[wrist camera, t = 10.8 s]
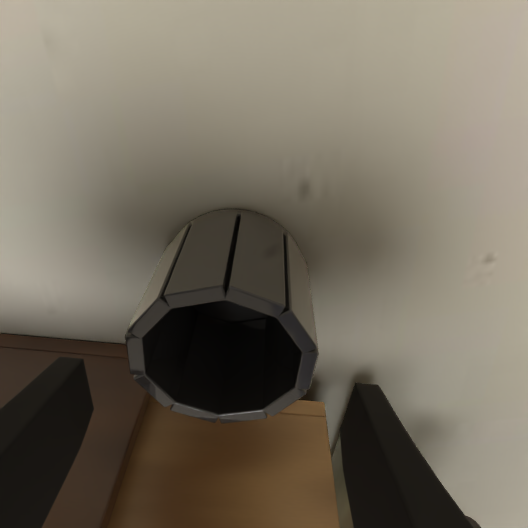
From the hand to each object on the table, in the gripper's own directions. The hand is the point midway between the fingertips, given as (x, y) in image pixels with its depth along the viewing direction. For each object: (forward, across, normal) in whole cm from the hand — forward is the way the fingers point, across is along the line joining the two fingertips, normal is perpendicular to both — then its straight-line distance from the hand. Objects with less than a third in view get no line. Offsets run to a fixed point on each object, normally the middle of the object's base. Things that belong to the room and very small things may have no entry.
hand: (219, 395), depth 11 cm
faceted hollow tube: (+6, 0, 0) cm, 6 cm away
